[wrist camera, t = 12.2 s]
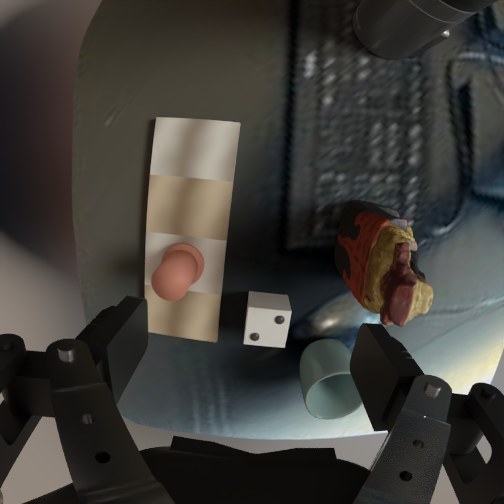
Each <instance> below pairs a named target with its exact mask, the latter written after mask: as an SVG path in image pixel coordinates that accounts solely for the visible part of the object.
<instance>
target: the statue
mask: <svg viewBox="0 0 504 504" xmlns="http://www.w3.org/2000/svg"><path fill="white" fill-rule="evenodd" d="M416 250H417V243H416V241H415V239H414V238H413V232H412V229H411V228H410V226H409V225H407V221H406V220H405V219H404V218H400V217H399V214H398V212H397V211H396V210H394V209H392V208H389V207H386V206H383V205H379V204H375V203H371V202H365V201H360V200H355V201H351V202H350V203H349V204H348V205H347V206H346V207H345V209H344V212H343V215H342V219H341V222H340V226H339V230H338V233H337V238H336V245H335V251H334V260H335V265H336V268H337V270H338V272H339V273H340V275H341V277H342V279H343V280H344V282H345V283H346V285H347V286H348V287H349V288H350V290H351V291H352V293H353V295H354V296H355V298H356V299H357V300H358V302H359V303H360V304H361V305H362V307H363V308H365V309H367V310H369V311H371V312H373V313H376V314H378V313H380V321H381V322H382V324H384V325H386V326H390V325H392V324H393V323H394V324H396V325H398V326H400V327H402V326H404V325H405V324H406V322H407V321H410V320H411V319H412V318H413V317H414V316H416V315H418V314H421V315H425V314H426V313H427V312H428V310H429V308H430V306H431V304H432V300H433V289H432V287H431V286H430V285H429V284H428V283H427V282H426V281H425V275H424V273H422V272H421V271H420V270H419V269H418V266H417V262H418V253H417V252H416Z"/></svg>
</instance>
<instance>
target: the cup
mask: <svg viewBox="0 0 504 504" xmlns="http://www.w3.org/2000/svg"><path fill="white" fill-rule="evenodd" d="M351 355H352V353H351V352H350V350H349V349H348V348H347V347H346V346H345V345H344V344H343V343H342V342H340V341H338V340H336V339H320V340H317V341H314V342H312V343H311V344H309V345H308V346H307V347H306V348H305V349H304V351H303V352H302V355H301V358H300V364H299V374H300V383H301V389H302V394H303V399H304V403H305V406H306V408H307V410H308V412H309V413H310V414H311V415H313V416H314V417H316V418H320V419H336V418H340V417H344V416H346V415H349V414H351V413H352V412H354V411H355V410H357V409H358V408H359V407H360V406H361V405H362V403H363V402H362V400H361V397H360V395H359V393H358V390H357V388H356V385H355V383H354V381H353V378H352V376H351V373H350V359H351Z"/></svg>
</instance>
